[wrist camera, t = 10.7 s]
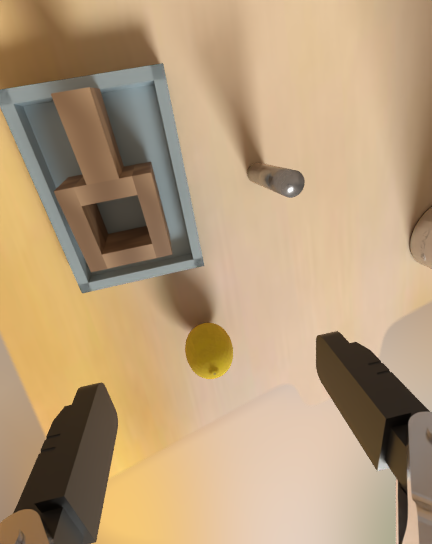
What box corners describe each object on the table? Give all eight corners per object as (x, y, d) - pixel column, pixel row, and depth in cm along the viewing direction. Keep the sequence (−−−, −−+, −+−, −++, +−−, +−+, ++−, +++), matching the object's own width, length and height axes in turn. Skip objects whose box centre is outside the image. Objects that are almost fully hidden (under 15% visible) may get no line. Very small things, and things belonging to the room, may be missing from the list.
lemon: (193, 351, 38) (200, 400, 31) (176, 321, 36) (179, 366, 28) (230, 335, 38) (247, 380, 31) (216, 304, 36) (230, 345, 28)
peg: (264, 160, 29) (304, 168, 21) (266, 180, 30) (304, 194, 22) (246, 164, 29) (278, 173, 21) (248, 184, 30) (280, 199, 22)
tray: (162, 70, 25) (163, 63, 22) (201, 257, 32) (204, 265, 30) (9, 95, 23) (-7, 90, 21) (87, 282, 31) (82, 293, 29)
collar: (131, 83, 23) (127, 81, 19) (169, 234, 30) (172, 254, 26) (34, 99, 22) (10, 100, 18) (98, 249, 29) (91, 272, 26)
